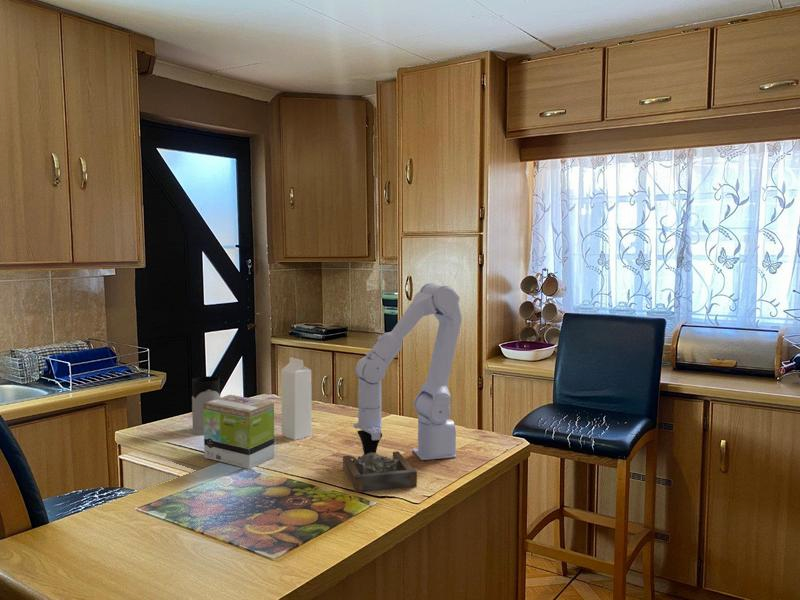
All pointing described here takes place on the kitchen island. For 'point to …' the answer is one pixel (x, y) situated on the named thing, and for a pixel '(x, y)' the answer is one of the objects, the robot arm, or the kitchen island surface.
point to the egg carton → (374, 463)
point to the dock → (381, 476)
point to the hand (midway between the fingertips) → (369, 459)
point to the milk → (296, 400)
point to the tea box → (239, 430)
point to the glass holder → (203, 399)
